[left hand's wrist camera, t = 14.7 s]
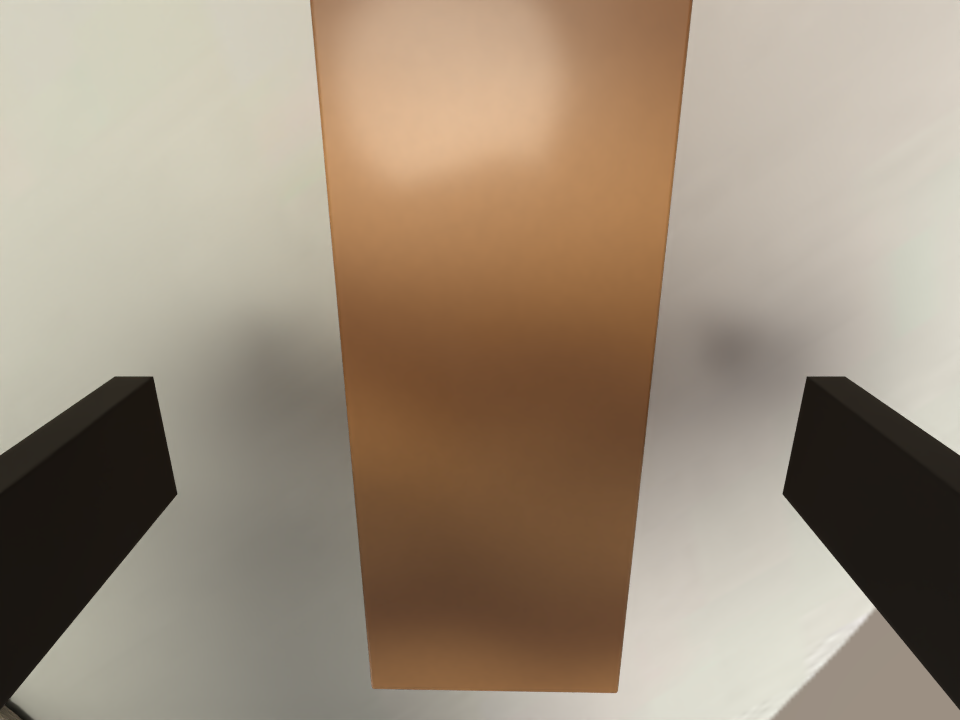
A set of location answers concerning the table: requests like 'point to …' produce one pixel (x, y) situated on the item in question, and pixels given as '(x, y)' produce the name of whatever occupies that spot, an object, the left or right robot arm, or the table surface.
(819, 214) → the table surface
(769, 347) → the table surface
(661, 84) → the bar
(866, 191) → the table surface
